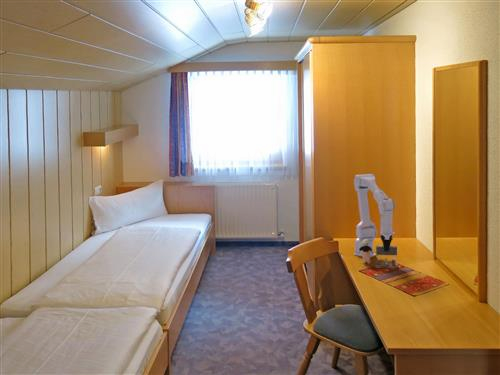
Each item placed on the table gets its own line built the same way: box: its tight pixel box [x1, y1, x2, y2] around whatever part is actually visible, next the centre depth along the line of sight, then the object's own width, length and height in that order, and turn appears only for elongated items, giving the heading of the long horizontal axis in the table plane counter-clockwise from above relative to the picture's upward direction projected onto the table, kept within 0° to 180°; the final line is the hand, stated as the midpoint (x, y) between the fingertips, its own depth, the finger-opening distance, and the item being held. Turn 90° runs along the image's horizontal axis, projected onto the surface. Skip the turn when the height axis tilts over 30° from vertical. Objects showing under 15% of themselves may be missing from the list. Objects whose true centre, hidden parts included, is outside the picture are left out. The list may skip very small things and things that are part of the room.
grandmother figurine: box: [358, 239, 374, 265], centre depth 273 cm, size 8×4×13 cm, turn 84°
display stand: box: [374, 257, 399, 269], centre depth 266 cm, size 11×6×4 cm, turn 78°
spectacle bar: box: [375, 245, 398, 256], centre depth 266 cm, size 10×3×4 cm, turn 78°
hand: (386, 250), depth 266 cm, fingers closed on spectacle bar, 3 cm apart
